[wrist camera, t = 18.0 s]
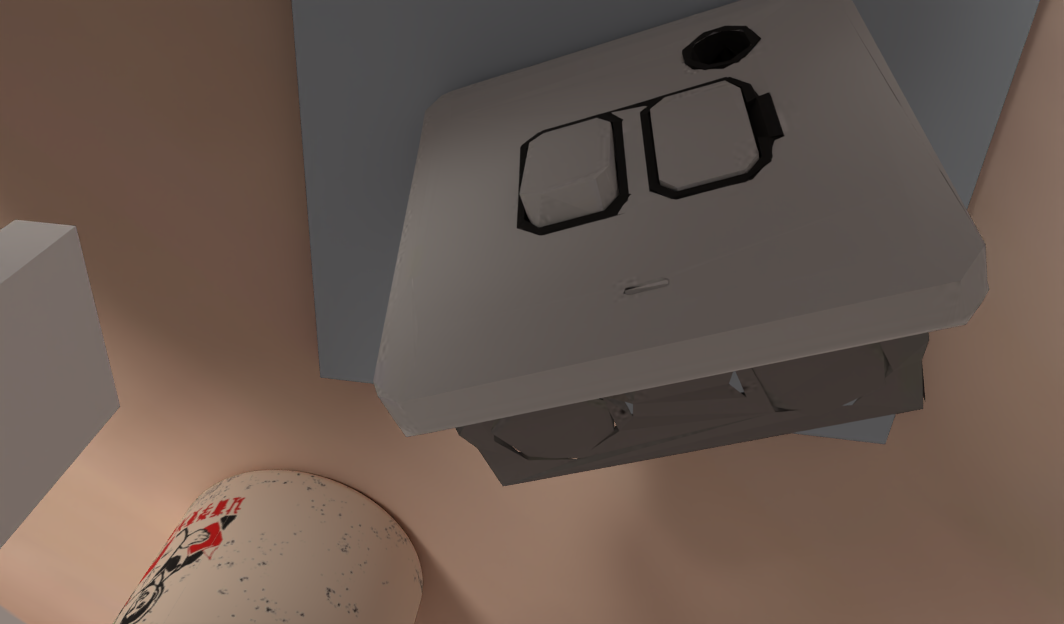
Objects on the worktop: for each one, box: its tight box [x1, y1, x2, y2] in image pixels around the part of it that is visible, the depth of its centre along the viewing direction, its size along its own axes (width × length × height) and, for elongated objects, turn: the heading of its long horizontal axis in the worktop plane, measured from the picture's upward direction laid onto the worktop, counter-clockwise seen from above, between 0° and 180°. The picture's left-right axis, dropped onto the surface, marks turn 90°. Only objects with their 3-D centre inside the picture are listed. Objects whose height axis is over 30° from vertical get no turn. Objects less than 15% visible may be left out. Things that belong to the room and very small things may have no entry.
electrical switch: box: [373, 0, 989, 486], centre depth 16 cm, size 9×5×9 cm, turn 108°
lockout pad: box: [292, 0, 1040, 444], centre depth 20 cm, size 16×16×1 cm
